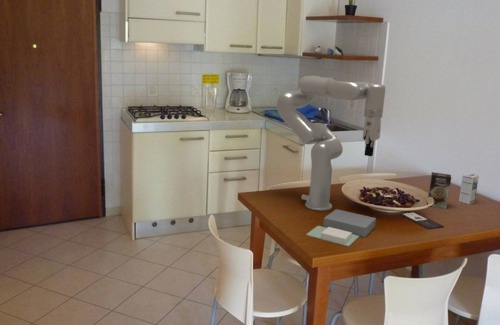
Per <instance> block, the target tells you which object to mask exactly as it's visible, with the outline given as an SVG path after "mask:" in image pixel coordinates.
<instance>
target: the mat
mask: <svg viewBox="0 0 500 325" xmlns="http://www.w3.org/2000/svg"><path fill="white" fill-rule="evenodd" d="M325 229H326V227H323V226H322V225H321V226H320V225H317V226H315V227H314V228H313V229H311V230H310V231H309V232H307V233H306V234H305V236H307V237H310V238H314V239H315V238H316V239H318V240H322V241H326V242H329V243H333V244H338V245H341V246H345V247H348V248H349V247H350V246H351V245H352V244H353V243H354V242H356V240H358V239H359V237H360V236H357V235H353V234H352V237H351V238H350V239H349V240H348V241H347V242H346V243H345V244H344V243H340V242H336V241H332V240H328V239H324V238H321V233H322V232H323V231H324V230H325Z"/></svg>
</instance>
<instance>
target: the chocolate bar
mask: <svg viewBox="0 0 500 325" xmlns="http://www.w3.org/2000/svg"><path fill="white" fill-rule="evenodd" d="M400 216H401V217H403V218H405V219H407V220H409V221H411V222H413V223H415V224H417V225H419V226H420V227H422V228H424V229H426V230H435V229H443V228H445V226H444V225H442V224H440V223H438V222H437V221H434V220H432V219H430V218H428V217H427V216H424V215H422V214H420V213H419V212H409V213H408V212H406V213H400Z"/></svg>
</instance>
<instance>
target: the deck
mask: <svg viewBox="0 0 500 325" xmlns="http://www.w3.org/2000/svg"><path fill="white" fill-rule="evenodd" d="M376 221H377V218H376V217H371V216H368V215H364V214H359V213H355V212H351V211H350V212H349V211H346V210H341V209H337V208H336V209H334V210H333V211H332V212H330V213H329V214H328V215H326V216H324V217H323V224H322V225H323V226H322V227H325V228H328V227H331V228H335V229H340V230H344V231H348V232H352V234H353V235H357V236H359V237H361V238H366V236H368V235H369V234H370V232H371V231H373V229H375V228H376Z"/></svg>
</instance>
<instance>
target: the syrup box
mask: <svg viewBox="0 0 500 325" xmlns="http://www.w3.org/2000/svg"><path fill="white" fill-rule="evenodd" d="M461 177H462V178H461V184H460V191H459V199H458V202H459V203H462V202H463V204H466V203H467V204H466V205H471V204H473V203H475V202H476V195H477V189H478V184H479V183H478V182H479V178H480V177H479V175H478V174H475V173H469V172H468V173H465V174H462V176H461Z"/></svg>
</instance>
